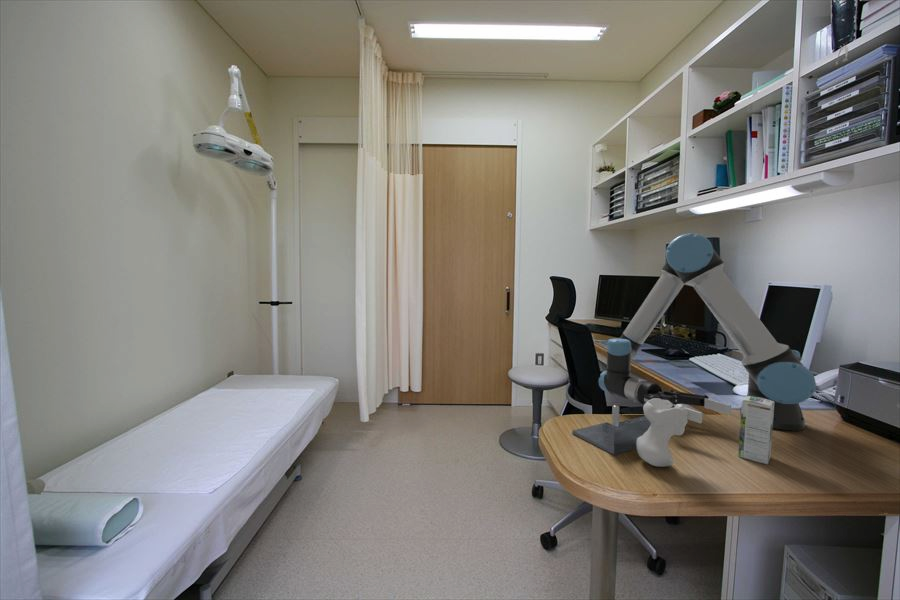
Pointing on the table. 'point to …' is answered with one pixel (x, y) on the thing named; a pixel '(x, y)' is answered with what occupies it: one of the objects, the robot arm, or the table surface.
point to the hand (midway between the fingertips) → (716, 414)
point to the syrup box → (756, 429)
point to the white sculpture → (661, 431)
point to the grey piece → (615, 433)
